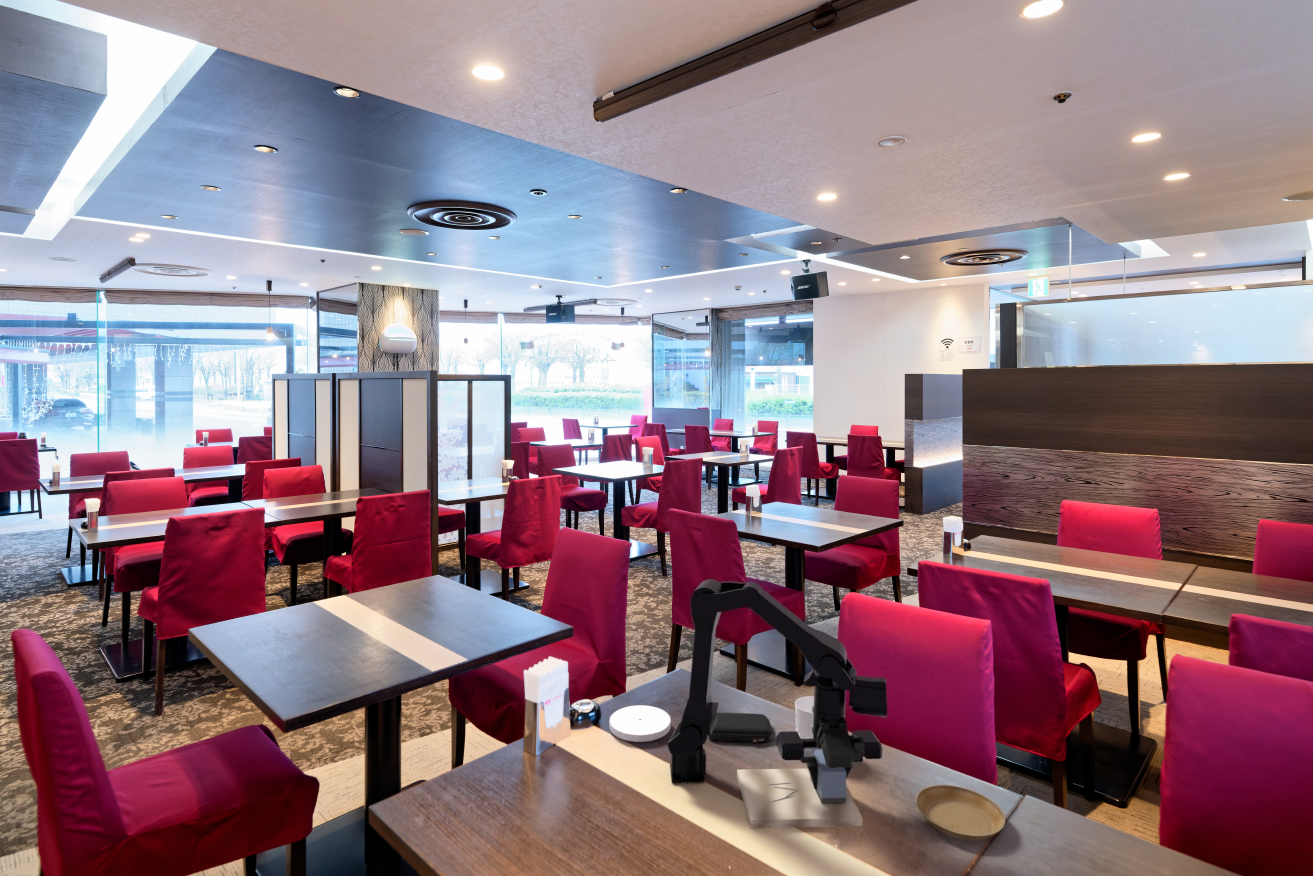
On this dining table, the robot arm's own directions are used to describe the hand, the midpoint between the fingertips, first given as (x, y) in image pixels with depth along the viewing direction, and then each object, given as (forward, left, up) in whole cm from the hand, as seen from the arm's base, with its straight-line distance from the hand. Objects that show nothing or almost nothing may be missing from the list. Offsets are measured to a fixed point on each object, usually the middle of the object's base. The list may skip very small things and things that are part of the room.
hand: (827, 788), depth 129 cm
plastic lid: (-35, +28, -3) cm, 45 cm away
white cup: (+2, +18, -2) cm, 18 cm away
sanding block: (0, 0, 0) cm, 1 cm away
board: (-6, 0, -2) cm, 6 cm away
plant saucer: (+22, -7, -3) cm, 23 cm away
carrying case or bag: (-13, +25, -3) cm, 29 cm away
